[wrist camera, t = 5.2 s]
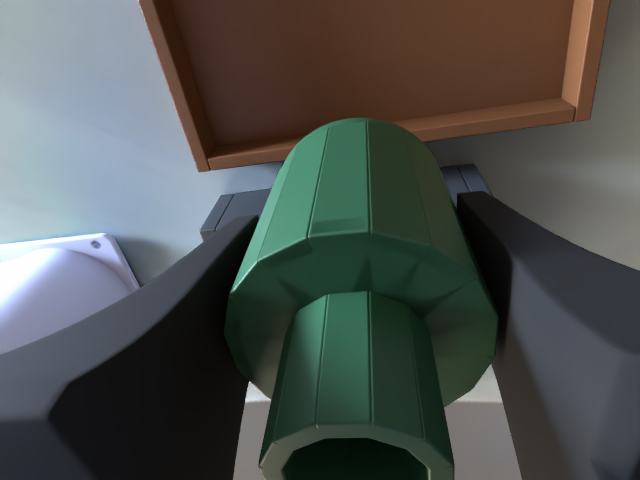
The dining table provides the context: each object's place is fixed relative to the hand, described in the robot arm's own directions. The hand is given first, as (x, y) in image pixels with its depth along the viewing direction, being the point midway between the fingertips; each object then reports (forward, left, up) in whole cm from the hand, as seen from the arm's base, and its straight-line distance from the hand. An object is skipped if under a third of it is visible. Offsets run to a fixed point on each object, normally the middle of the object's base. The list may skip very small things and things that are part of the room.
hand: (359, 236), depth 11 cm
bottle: (0, 0, -2) cm, 2 cm away
